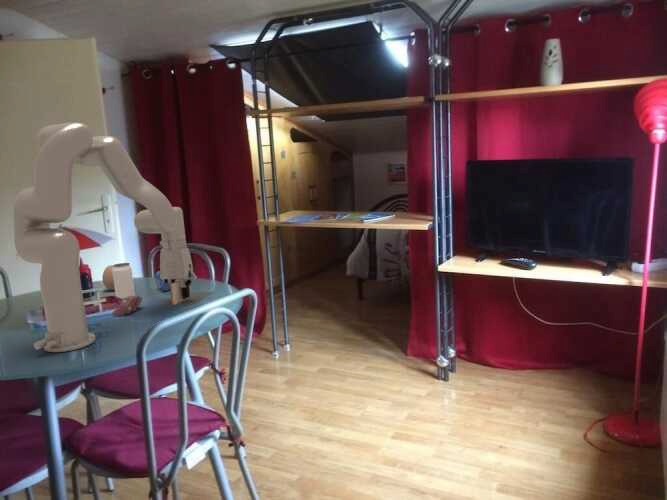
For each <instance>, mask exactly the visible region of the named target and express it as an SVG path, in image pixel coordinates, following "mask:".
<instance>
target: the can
mask: <svg viewBox="0 0 667 500" xmlns="http://www.w3.org/2000/svg"><path fill="white" fill-rule="evenodd" d="M112 273H113V280H114V288H115V290H114V294H115V297H116V296H117V297H119V298H121V299H120V300H125V299H126V298H127V297H128V296H132V295H136V292H135V286H134V285H135V283H134V277H133V269H132V267H131V264H130V263H129V262H121V263H115V264H113V269H112Z"/></svg>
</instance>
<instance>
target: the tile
mask: <svg viewBox="0 0 667 500" xmlns="http://www.w3.org/2000/svg"><path fill="white" fill-rule="evenodd" d="M182 288H183V285H182V282H181V279H177V280H176V281H175V282H173V283H171V284H170V289H169V292H170V291H171V295H170V298H171V300H172V304H174V305H175V306H176V304H178V303H180V302H182V301H184V300H186V299H188V298H186V299H183V297H182ZM174 305H173V306H174Z"/></svg>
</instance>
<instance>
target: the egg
mask: <svg viewBox="0 0 667 500" xmlns="http://www.w3.org/2000/svg"><path fill="white" fill-rule="evenodd" d="M113 265H114V264H113ZM113 265H108V266H107V267H105V268H104V270H103V273H102V284H103V285H104V286H105V288H106V289H107V290H110V291H115V288H114V280H113V273H112V269H113Z"/></svg>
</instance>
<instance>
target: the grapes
mask: <svg viewBox="0 0 667 500" xmlns="http://www.w3.org/2000/svg"><path fill="white" fill-rule="evenodd" d="M159 268H160V265H159ZM160 275H161V271H160V270H159V271H156V273H155V274H154V277H155V278H156V279H157V280H160V281H158V284H159V285H160V286H161V287H160V288H161V290H162V291H163V292H168V291H170V287H168V285H167V284H166V283H165V281H163V280H162V279H160Z"/></svg>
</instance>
